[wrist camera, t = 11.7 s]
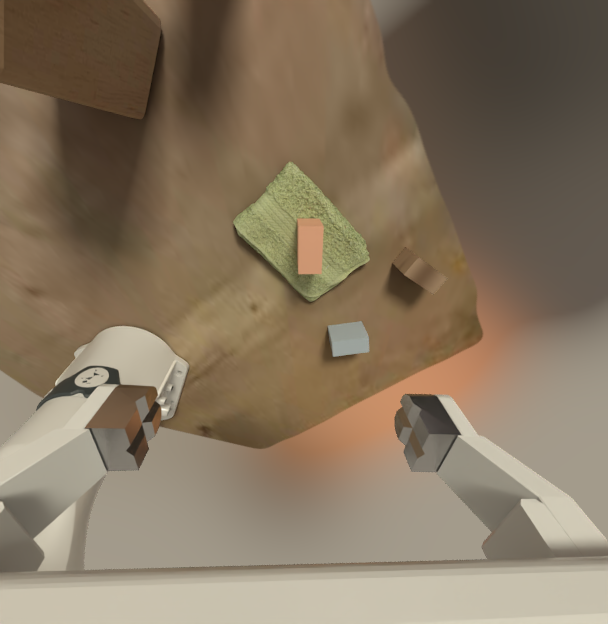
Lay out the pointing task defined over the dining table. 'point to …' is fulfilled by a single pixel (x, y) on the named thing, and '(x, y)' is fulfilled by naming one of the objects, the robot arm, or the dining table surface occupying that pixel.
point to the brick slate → (348, 339)
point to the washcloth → (283, 232)
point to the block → (81, 51)
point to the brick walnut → (419, 271)
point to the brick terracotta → (309, 245)
